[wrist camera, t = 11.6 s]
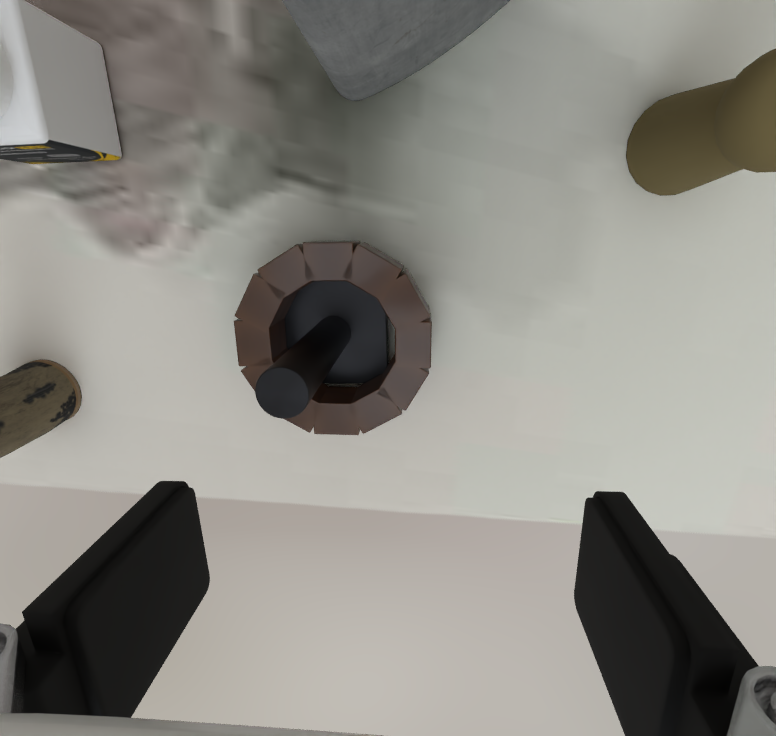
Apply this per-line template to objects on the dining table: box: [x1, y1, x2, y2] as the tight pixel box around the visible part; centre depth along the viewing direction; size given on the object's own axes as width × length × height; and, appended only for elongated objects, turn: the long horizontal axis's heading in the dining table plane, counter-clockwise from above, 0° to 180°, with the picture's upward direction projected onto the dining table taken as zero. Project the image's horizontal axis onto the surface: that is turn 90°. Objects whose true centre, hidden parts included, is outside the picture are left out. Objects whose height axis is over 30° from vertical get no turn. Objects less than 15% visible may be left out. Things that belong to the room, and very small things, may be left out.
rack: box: [255, 281, 389, 419], centre depth 28 cm, size 8×8×14 cm
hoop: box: [234, 241, 432, 435], centre depth 32 cm, size 13×13×4 cm
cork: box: [626, 49, 776, 195], centre depth 24 cm, size 6×6×11 cm
